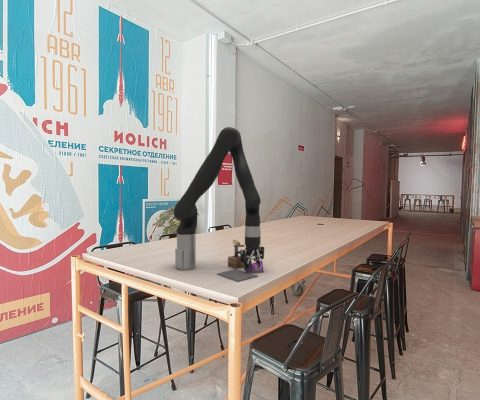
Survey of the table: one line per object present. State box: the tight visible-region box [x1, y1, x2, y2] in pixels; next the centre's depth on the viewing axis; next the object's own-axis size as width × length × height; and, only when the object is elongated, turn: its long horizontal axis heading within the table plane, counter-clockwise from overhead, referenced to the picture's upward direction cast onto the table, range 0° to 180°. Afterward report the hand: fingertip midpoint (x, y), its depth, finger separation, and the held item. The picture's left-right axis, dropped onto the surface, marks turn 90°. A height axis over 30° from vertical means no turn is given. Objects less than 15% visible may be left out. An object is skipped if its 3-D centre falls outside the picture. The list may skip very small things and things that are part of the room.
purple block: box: [245, 257, 264, 274], centre depth 154 cm, size 7×5×9 cm
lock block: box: [227, 255, 244, 270], centre depth 163 cm, size 6×6×5 cm
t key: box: [232, 239, 241, 257], centre depth 164 cm, size 8×12×8 cm, turn 103°
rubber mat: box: [216, 268, 258, 283], centre depth 147 cm, size 12×15×1 cm
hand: (252, 269), depth 154 cm, fingers open, 6 cm apart
